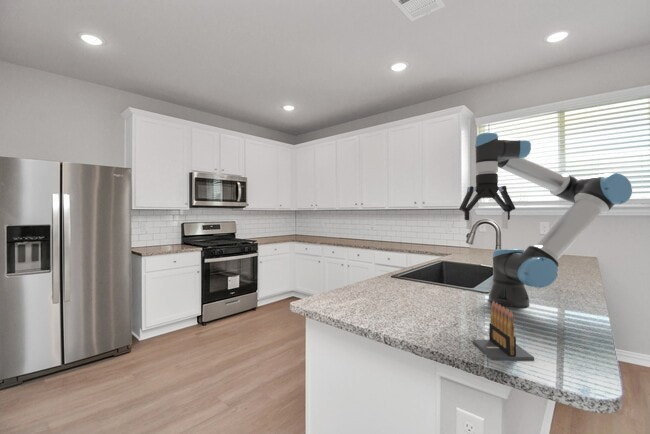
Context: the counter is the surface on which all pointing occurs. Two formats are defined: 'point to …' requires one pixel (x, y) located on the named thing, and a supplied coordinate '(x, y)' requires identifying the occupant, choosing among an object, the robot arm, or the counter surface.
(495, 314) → the ammunition clip
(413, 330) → the counter surface
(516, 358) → the mat
